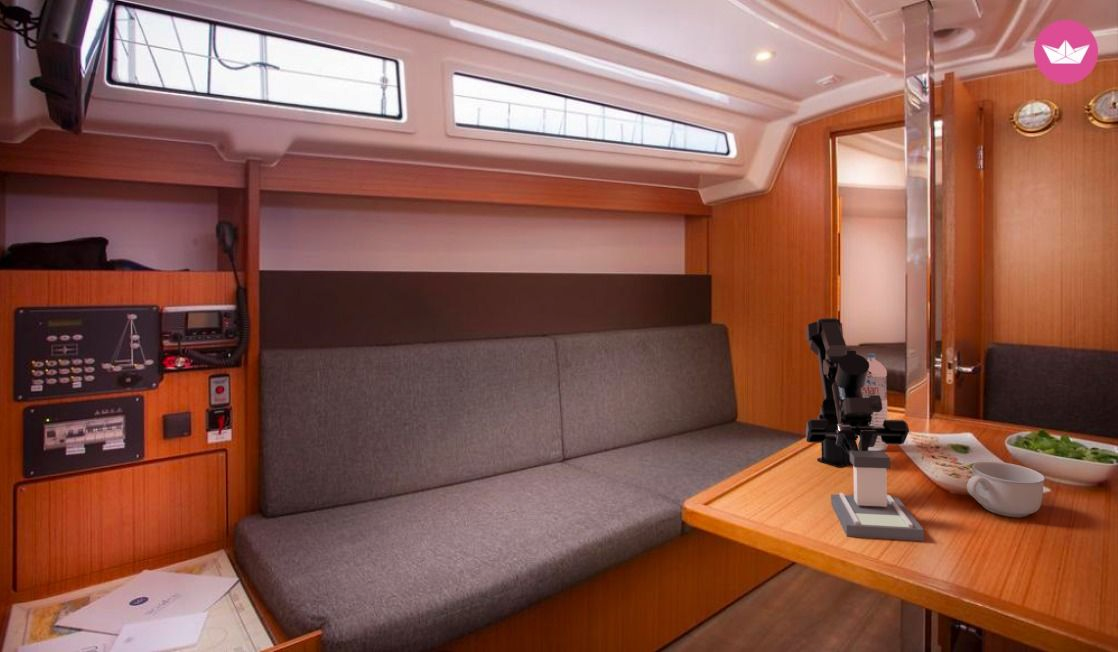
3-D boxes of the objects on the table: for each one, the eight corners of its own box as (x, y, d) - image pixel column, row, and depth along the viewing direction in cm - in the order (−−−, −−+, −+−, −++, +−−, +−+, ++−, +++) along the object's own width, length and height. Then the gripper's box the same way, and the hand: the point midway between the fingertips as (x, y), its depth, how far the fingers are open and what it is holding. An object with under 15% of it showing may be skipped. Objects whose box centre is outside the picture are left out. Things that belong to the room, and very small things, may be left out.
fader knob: (850, 498, 111) (849, 450, 111) (884, 499, 110) (884, 451, 109) (855, 506, 108) (854, 456, 107) (890, 507, 106) (890, 457, 105)
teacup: (1011, 498, 113) (1011, 459, 113) (1060, 521, 102) (1061, 477, 102) (942, 503, 113) (942, 463, 112) (985, 526, 102) (985, 482, 101)
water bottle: (852, 447, 152) (850, 354, 150) (869, 443, 155) (868, 351, 153) (876, 453, 146) (874, 356, 144) (893, 449, 148) (892, 353, 147)
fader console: (831, 504, 115) (830, 491, 115) (897, 507, 112) (897, 494, 112) (846, 536, 101) (846, 522, 101) (923, 541, 98) (923, 526, 97)
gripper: (806, 381, 121) (815, 447, 111) (905, 380, 115) (924, 449, 106) (802, 410, 129) (810, 473, 119) (894, 410, 123) (911, 477, 114)
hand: (862, 468), depth 114 cm, fingers closed
